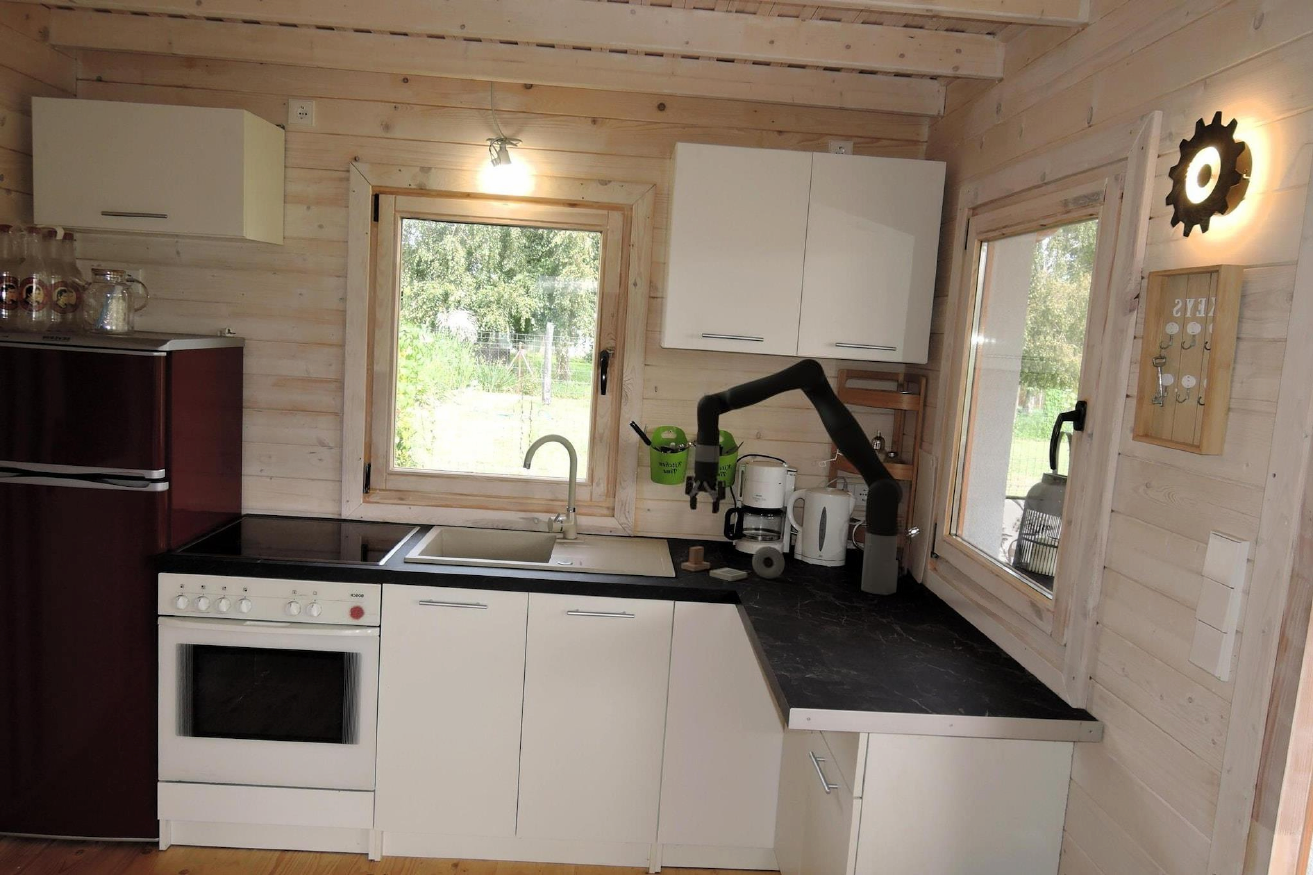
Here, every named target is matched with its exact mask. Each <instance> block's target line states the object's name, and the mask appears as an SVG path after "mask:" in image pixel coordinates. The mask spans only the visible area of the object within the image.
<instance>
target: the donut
mask: <svg viewBox="0 0 1313 875" xmlns="http://www.w3.org/2000/svg"><path fill="white" fill-rule="evenodd" d="M767 558H770V559H771V560H772V563H773V564H772V566H771V567H767V566H765V564H764V560H765V559H767ZM751 562H752V567H753V570H754V572H755V573H756V574H757V575H758V576H759V577H761V578H763V579H767V580H772V579H776V578H778V577H779V576H780V575H781V574H782V572H783V571H784V569H785V563H786V562H785V559H784V555H783V554H782V552H781V551H780V550H779V549H777V548H776V547H774V546H770V545H769V546H767V545H766V546H765V545H764V546H762V547H760V548H758V549H757V550H756V551H755V552H754V554H753V555H752V559H751Z"/></svg>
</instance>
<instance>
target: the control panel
mask: <svg viewBox="0 0 1313 875" xmlns="http://www.w3.org/2000/svg"><path fill="white" fill-rule="evenodd" d="M709 576H710V577H713V578H716V579H720V580H725V581H729V582H732V581H737V580H742V579H745V578H747V577H748V572H745V571H741V570H738V569H733V568H729V567H723V568H717V569H712V570H709Z"/></svg>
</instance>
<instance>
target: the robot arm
mask: <svg viewBox="0 0 1313 875" xmlns="http://www.w3.org/2000/svg"><path fill="white" fill-rule="evenodd" d="M795 390H800V391H802V392H803V394H804V395H805V396H806V398H807V399H808V400H809V402H811V404H812V405H813V407H814V408H815V409H816V410H815V411H817V414H818V417H819V418H820V421H821V422H822V425H823V427H824V428H825V431H826V432H827V434H828V436H829V437H830V439H831V441H832V443H833V444H834V446H835V447H836V448H837V450H838V452H839V453H840V454H841V455H842V456H843V457H844V458H845V459H846V460H847V461H848V462H849V463H850V464H851V466H853V467H854V468H855V469H856V470H857V472H858V474H860V476H861V478H862V479H863V481H864V482H865V484H866V487H867V488H868V490H867V493H866V502H865V503H866V504H865V519H864V520H865V522H864V523H865V536H864V537H865V538H864V550H863V562H862V571H861V572H862V573H861V574H862V575H861V590H862V591H863V592H866V593H870V594H873V595H875V594H876V595H884V596H888V595H891V594H894V593H896V592H897V582H898V572H899V571H898V570H899V560H897V548H898V537H899V525H898V524H899V523H898V516H899V506H900V504H901V502H902V500H903V497H904V496H903V495H904V494H903V488H902V486H901V484H900V482H898V481H897V479H895V477H894V476H893V475H892V473H890V471H889V470H888V469H887V467H886V466H885V465H884V463H883V461H882V460H881V459H880V457H879V456H878V453H877V451H876V450H875V448H874V446H873V445H872V443H871V441H870V439H869V438H868V436H867V435H866V433H865V431H864V430H863V428H862V426H861V425H860V424H859V422H858V420H857V419H856V418H855V416H854V415H853V414H852V412H851V411H850V410H849V408H847V406H846V405H845V404H844V403H843V402H842V401H841V400H840V398H839V397H838V395H836V393H835V391H834V390H833V387H832V386H831V384H830V382H829V379H828V378H827V375H826V374H825V369H824V368H823V366H822V365H821V363H820V362H819V361H817V360H816V359H812V358H805V359H802V360H800V361H798V362H796V363H794V364H793V365H790V366H789V367H787V368H785V369H782V370H780V371H778V372H775V373H773V374H770V375H768V376H764V377H760V378H757V379H754V380H752V381H751V380H750V381H747V382H745V383H742V384H738V385H736V386H733V387H730V388H728V389H726V390H723V391H720V392H716V393H713V394H712V393H711V394H707V395H704V396H702V397H701V398H700V399H699V400H698V403H697V406H696V408H697V409H696V420H697V421H696V422H697V433H696V446H695V452H694V464H693V465H694V466H693V470H694V471H693V473H694V474H695V475H687V476H686V477H685V488H684V494H685V495H686V496H689V507H690V510H693V511H694V510H695V511H696V510H697V509H698V508H697V507H698V495H699V494H700V493H703V492H704V493H705V494H708V495H709V496H710V497H711V500H712V505H711V507H712V509H711V513H712V514H714V515H715V514H719V512H720V505H721V501H725V500H726V497H727V495H726V494H727V493H726V492H727V491H726V490H727V489H726V488H727V487H726V486H727V484H726V483H727V482H726V480H725V479H724V480H723V479H722V480H718V475H719V468H720V467H719V465H720V439H721V438H720V436H721V435H720V428H719V424H720V423H719V422H720V421H719V420H720V416H721V415H724V414H726V413H729V412H732V411H736V410H741V409H744V408H747V407H751V406H753V405H756V404H759V403H761V402H763V401H766V400H768V399H770V398H772V397H774V396H776V395H779V394H782V393H785V392H790V391H795ZM694 484H695V485H694Z"/></svg>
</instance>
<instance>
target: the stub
mask: <svg viewBox="0 0 1313 875" xmlns="http://www.w3.org/2000/svg"><path fill="white" fill-rule="evenodd" d="M704 549H705V547H704V546H692V547H689V554H688V555H689V556H688V561H687V562H682V563H681V566H680V568H681V569H683V570H688V571H691V572H697V571H702V570H708V569H710V568H711V562H706V561H704V553H705V550H704Z"/></svg>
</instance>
